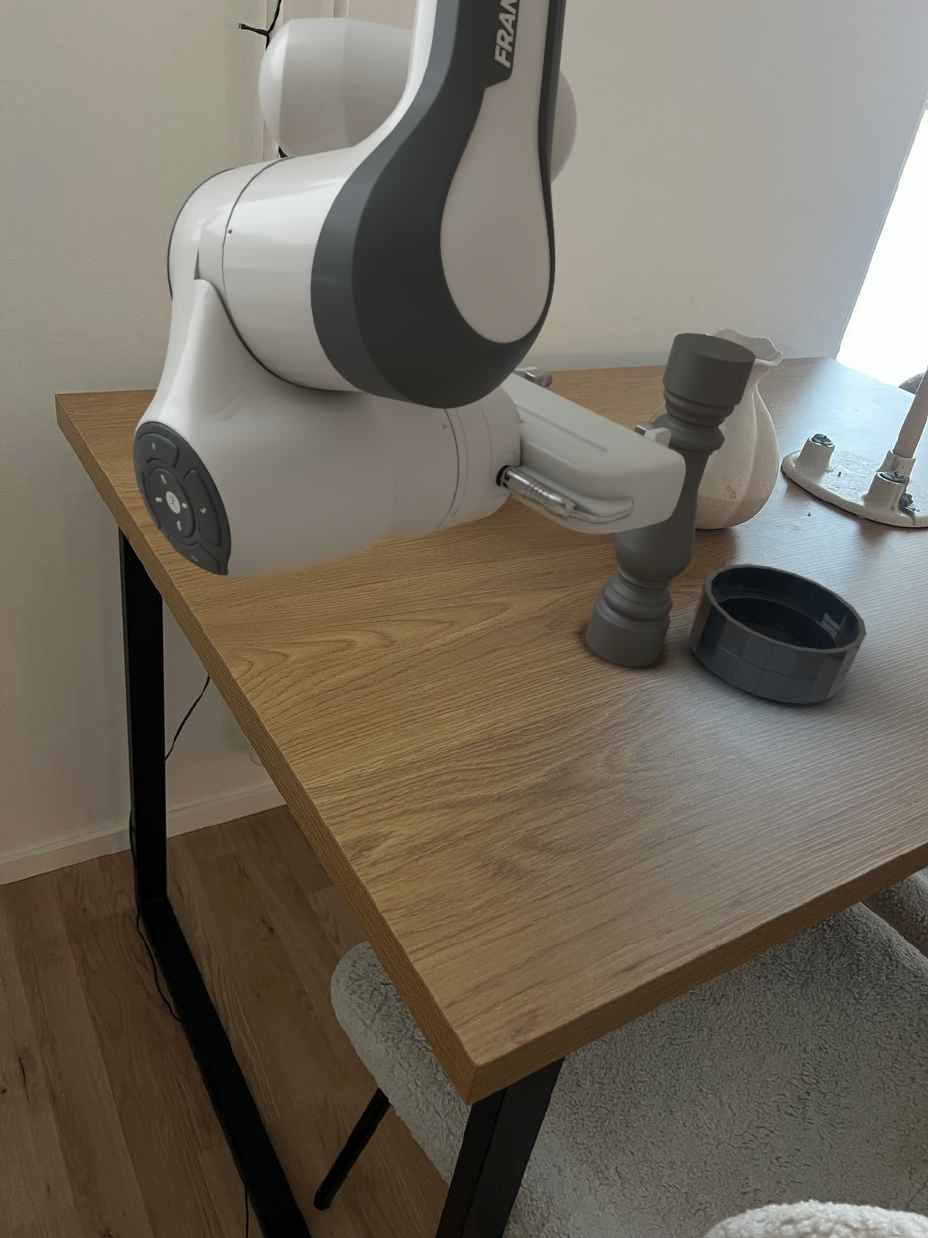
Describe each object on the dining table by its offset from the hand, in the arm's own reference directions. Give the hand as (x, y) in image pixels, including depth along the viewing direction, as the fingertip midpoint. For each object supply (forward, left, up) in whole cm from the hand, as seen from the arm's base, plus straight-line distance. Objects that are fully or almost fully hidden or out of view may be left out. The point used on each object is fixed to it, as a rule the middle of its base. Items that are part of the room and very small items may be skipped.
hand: (598, 409), depth 63 cm
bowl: (-1, +23, -22) cm, 32 cm away
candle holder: (-5, +11, -22) cm, 26 cm away
